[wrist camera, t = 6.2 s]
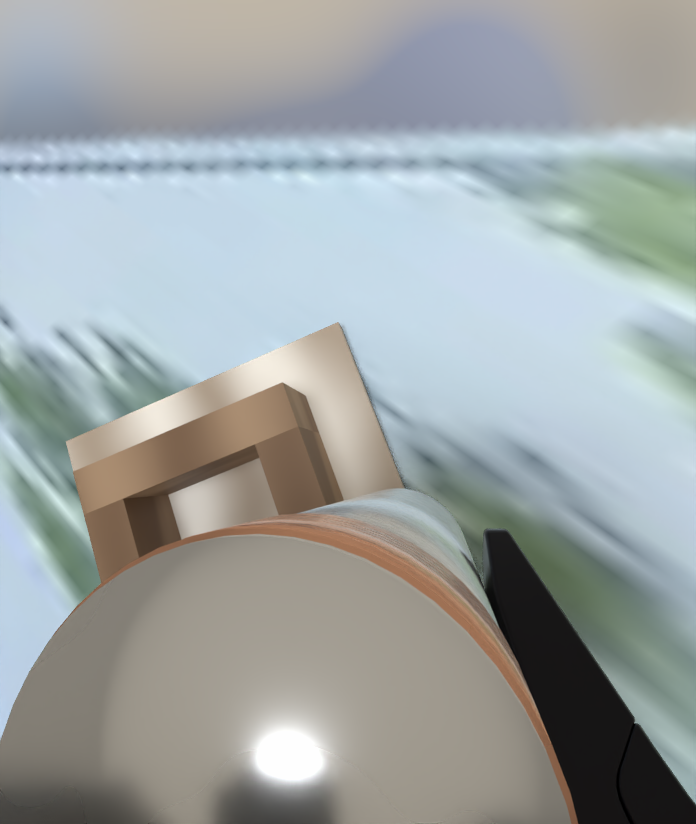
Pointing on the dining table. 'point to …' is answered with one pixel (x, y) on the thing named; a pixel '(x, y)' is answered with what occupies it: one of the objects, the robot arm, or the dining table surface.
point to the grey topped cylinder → (286, 685)
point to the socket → (233, 451)
